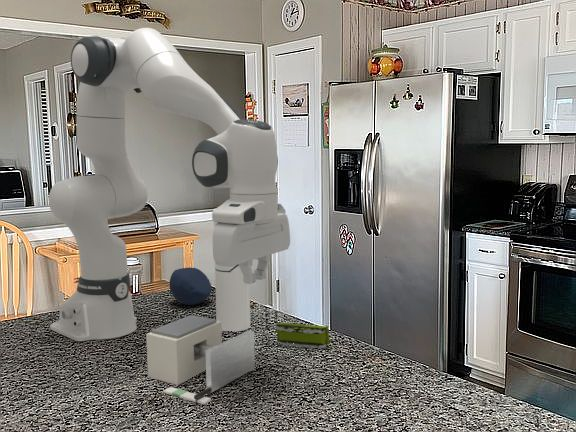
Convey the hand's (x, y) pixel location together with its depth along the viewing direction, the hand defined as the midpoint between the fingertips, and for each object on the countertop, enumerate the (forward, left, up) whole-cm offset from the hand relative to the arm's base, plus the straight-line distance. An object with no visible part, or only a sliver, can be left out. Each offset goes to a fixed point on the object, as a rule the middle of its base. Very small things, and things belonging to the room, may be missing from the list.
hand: (255, 281), depth 116 cm
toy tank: (-8, +25, -22) cm, 34 cm away
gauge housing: (-13, -2, -21) cm, 25 cm away
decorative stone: (-50, +38, -21) cm, 66 cm away
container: (-27, +28, -21) cm, 44 cm away
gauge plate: (-11, -2, -21) cm, 24 cm away
